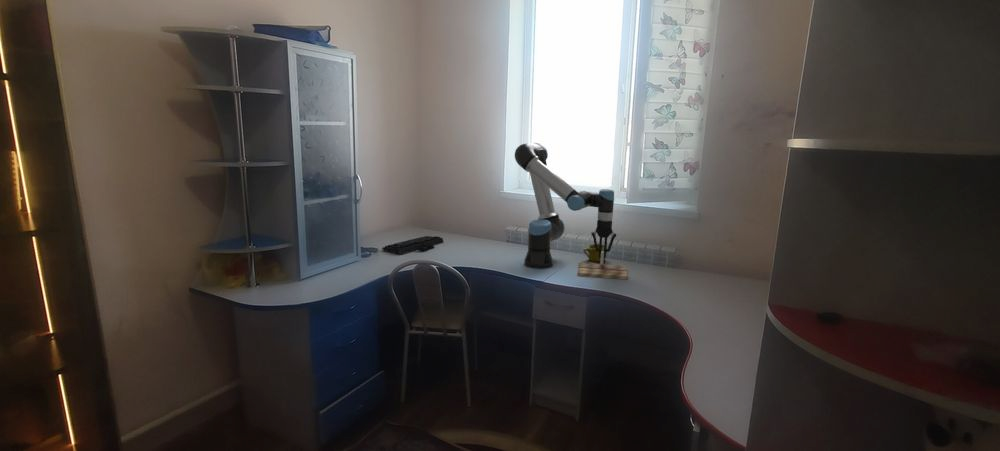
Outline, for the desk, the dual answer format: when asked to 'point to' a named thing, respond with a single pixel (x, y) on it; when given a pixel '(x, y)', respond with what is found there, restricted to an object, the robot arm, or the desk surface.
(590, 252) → the mug
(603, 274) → the floor strip
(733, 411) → the desk surface
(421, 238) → the black gun
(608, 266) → the plank
